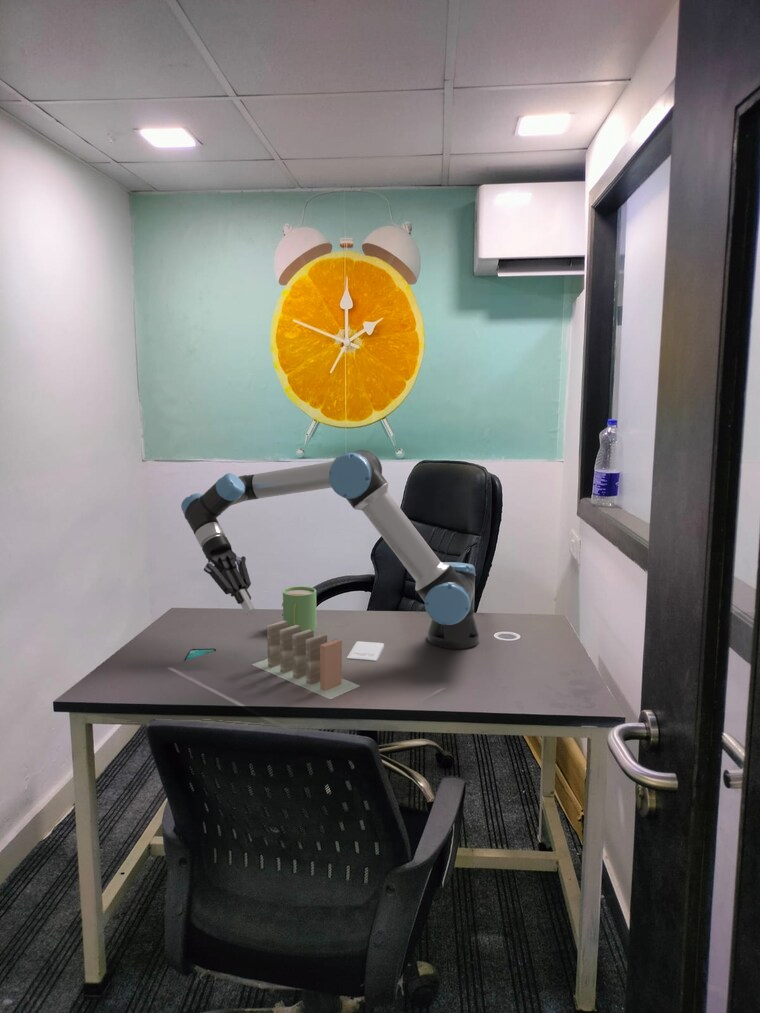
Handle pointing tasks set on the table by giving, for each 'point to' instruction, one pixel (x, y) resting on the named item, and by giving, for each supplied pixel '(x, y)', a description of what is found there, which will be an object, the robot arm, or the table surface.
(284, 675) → the board
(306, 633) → the domino
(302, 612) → the mug
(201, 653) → the smartphone
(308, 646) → the domino
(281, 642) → the domino
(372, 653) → the external hard drive
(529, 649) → the table surface
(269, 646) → the domino
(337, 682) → the domino
